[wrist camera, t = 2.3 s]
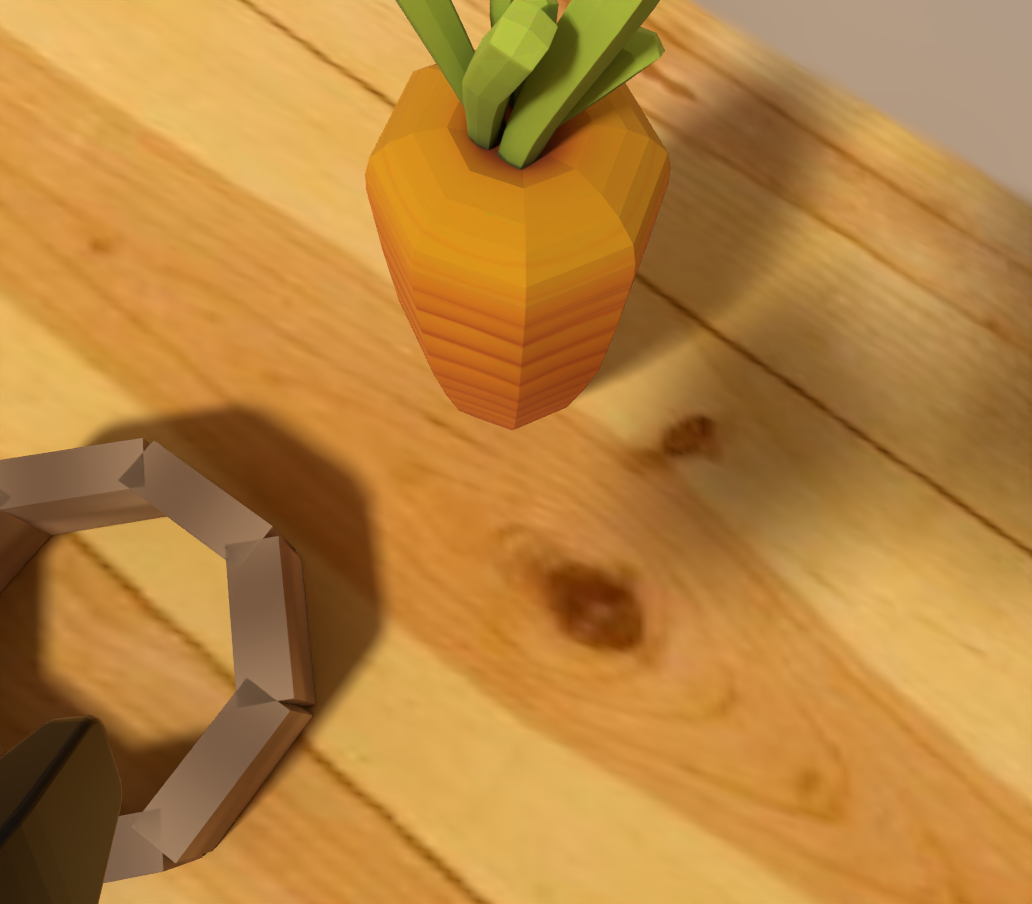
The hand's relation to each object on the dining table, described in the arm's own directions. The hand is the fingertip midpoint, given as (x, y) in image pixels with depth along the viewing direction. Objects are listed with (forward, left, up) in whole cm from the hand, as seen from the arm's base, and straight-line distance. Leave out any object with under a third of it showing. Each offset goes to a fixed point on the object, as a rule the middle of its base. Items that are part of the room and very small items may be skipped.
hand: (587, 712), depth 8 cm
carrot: (+5, -7, -14) cm, 16 cm away
